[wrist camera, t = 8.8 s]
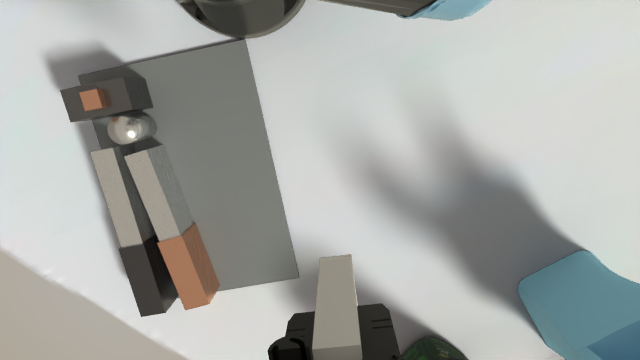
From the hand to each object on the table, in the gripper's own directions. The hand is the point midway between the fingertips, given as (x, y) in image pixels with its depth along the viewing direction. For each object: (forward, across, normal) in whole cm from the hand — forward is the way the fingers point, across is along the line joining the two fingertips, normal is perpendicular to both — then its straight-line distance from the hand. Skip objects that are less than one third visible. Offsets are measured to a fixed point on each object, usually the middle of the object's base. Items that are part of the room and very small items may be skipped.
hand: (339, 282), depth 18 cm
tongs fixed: (+26, -22, 0) cm, 34 cm away
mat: (+26, -16, +1) cm, 31 cm away
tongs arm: (+26, -19, -2) cm, 32 cm away
